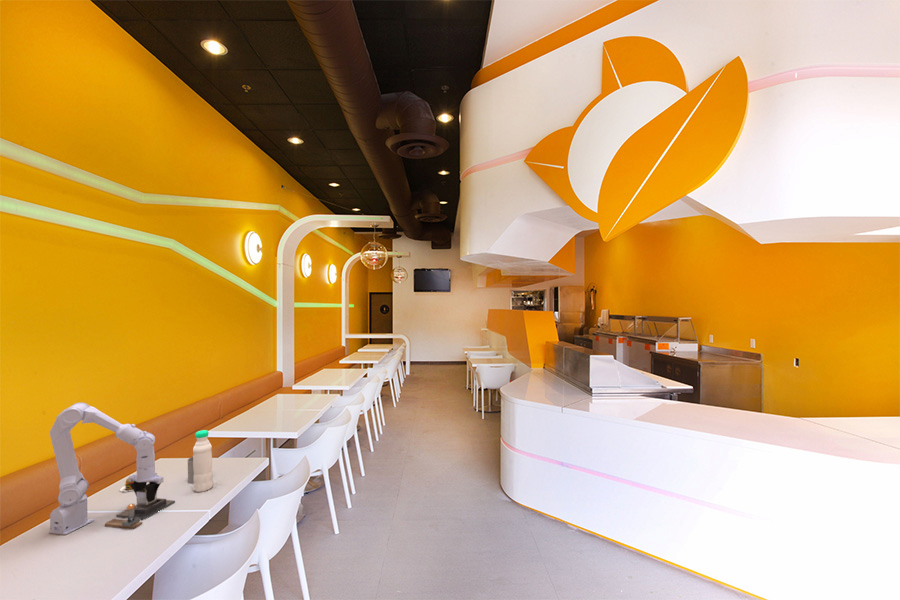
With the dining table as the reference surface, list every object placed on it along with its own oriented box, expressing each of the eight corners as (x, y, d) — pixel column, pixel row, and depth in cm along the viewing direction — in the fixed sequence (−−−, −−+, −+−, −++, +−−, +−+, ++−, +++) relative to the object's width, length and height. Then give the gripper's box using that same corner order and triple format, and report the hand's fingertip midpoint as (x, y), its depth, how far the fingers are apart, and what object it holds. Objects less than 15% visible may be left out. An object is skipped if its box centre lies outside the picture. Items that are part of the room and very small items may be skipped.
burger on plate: (118, 498, 167) (118, 485, 167) (112, 490, 175) (112, 478, 175) (153, 487, 176) (152, 475, 176) (145, 481, 184) (145, 469, 184)
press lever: (130, 526, 141) (129, 506, 141) (122, 525, 142) (121, 506, 142) (140, 520, 145) (139, 501, 145) (132, 520, 145) (131, 501, 146)
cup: (190, 478, 184) (189, 456, 184) (210, 474, 188) (210, 453, 188) (186, 485, 177) (186, 462, 177) (208, 481, 180) (207, 459, 180)
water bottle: (216, 485, 175) (215, 428, 176) (205, 492, 168) (203, 433, 169) (201, 485, 176) (200, 428, 177) (189, 492, 169) (188, 433, 170)
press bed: (144, 519, 148) (144, 513, 148) (116, 517, 150) (116, 510, 150) (175, 502, 160) (174, 496, 160) (148, 500, 163) (148, 494, 163)
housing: (146, 508, 153) (145, 490, 153) (136, 507, 154) (136, 489, 154) (156, 502, 157) (156, 485, 157) (147, 501, 158) (147, 484, 158)
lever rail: (133, 529, 141) (133, 526, 141) (104, 526, 144) (104, 523, 144) (142, 524, 144) (142, 521, 144) (113, 521, 147) (113, 518, 147)
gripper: (170, 462, 158) (170, 496, 158) (140, 460, 161) (141, 494, 161) (153, 469, 151) (154, 505, 151) (123, 467, 154) (123, 502, 154)
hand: (146, 500), depth 155 cm, fingers closed on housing, 4 cm apart
